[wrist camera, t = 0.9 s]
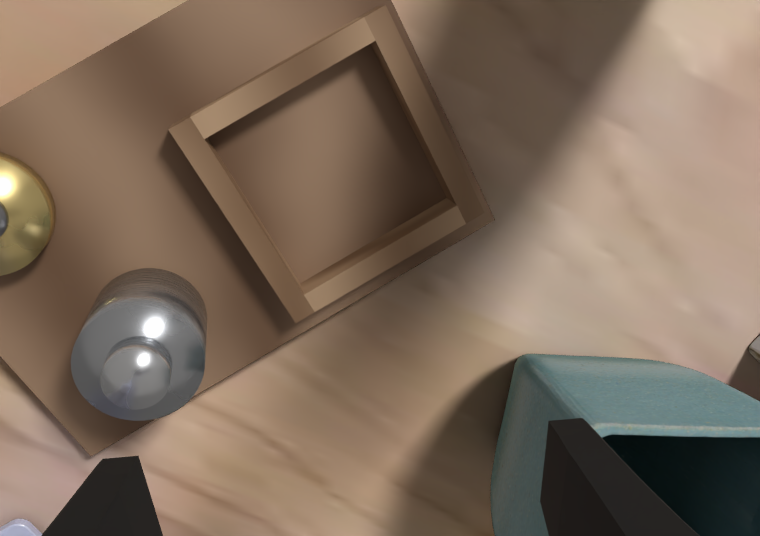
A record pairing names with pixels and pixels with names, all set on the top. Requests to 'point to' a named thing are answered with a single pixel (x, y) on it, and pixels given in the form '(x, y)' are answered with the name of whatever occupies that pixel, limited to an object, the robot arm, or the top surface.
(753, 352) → the coffee box
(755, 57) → the top surface
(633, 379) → the flower pot
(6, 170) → the brass domed disc
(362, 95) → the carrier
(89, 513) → the robot arm
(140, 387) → the silver knobbed cylinder
